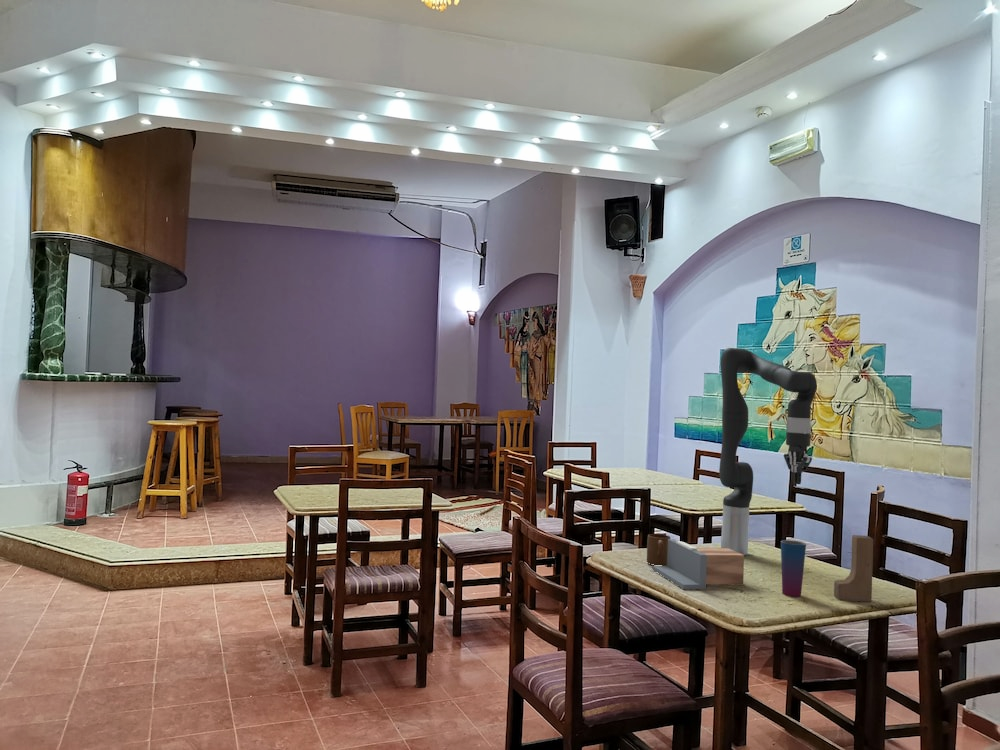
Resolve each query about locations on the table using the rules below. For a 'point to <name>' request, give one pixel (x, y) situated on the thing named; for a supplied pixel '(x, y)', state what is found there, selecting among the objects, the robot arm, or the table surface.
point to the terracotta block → (723, 566)
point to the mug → (657, 549)
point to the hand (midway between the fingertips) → (796, 483)
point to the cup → (792, 567)
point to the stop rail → (684, 565)
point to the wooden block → (858, 572)
